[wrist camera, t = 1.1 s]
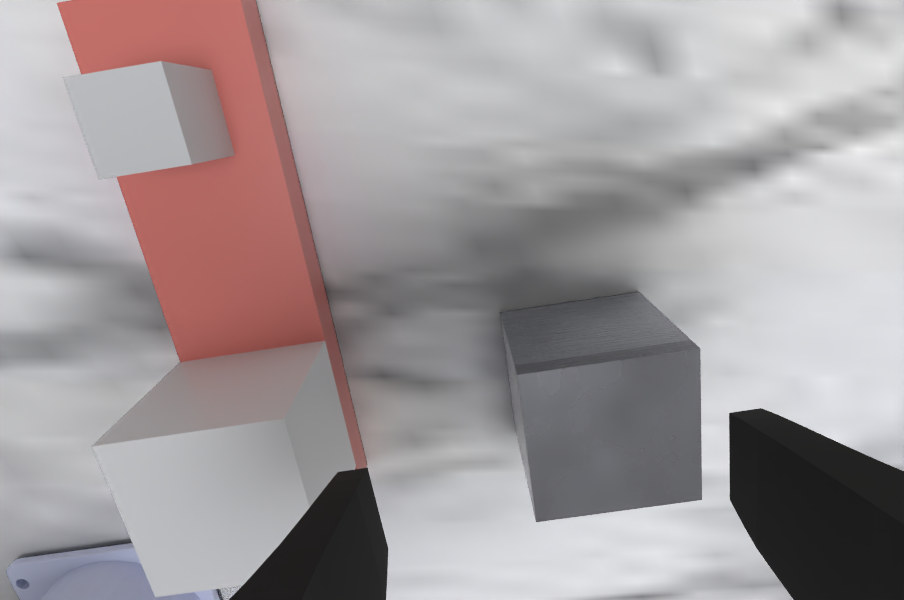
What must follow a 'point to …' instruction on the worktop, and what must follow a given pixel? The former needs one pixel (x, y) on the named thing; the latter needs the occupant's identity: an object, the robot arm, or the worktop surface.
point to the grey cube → (604, 406)
